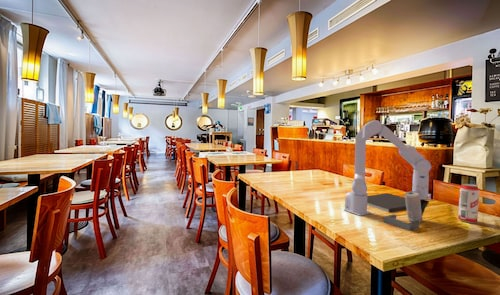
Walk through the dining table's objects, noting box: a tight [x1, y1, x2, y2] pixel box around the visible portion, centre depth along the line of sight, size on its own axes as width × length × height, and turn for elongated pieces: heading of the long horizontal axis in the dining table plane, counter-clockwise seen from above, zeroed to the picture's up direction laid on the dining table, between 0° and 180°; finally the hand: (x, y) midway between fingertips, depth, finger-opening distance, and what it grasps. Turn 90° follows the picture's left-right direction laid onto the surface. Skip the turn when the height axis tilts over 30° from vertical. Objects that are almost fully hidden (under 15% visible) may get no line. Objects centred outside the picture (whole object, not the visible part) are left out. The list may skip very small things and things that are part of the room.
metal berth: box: [383, 213, 420, 232], centre depth 101 cm, size 10×7×2 cm, turn 29°
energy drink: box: [404, 190, 423, 223], centre depth 105 cm, size 5×5×12 cm
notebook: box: [367, 192, 407, 213], centre depth 133 cm, size 22×2×28 cm
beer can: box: [457, 183, 480, 224], centre depth 106 cm, size 6×6×16 cm
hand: (418, 216), depth 107 cm, fingers closed
